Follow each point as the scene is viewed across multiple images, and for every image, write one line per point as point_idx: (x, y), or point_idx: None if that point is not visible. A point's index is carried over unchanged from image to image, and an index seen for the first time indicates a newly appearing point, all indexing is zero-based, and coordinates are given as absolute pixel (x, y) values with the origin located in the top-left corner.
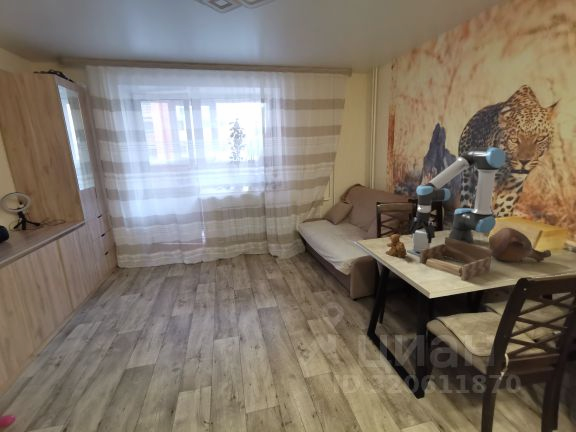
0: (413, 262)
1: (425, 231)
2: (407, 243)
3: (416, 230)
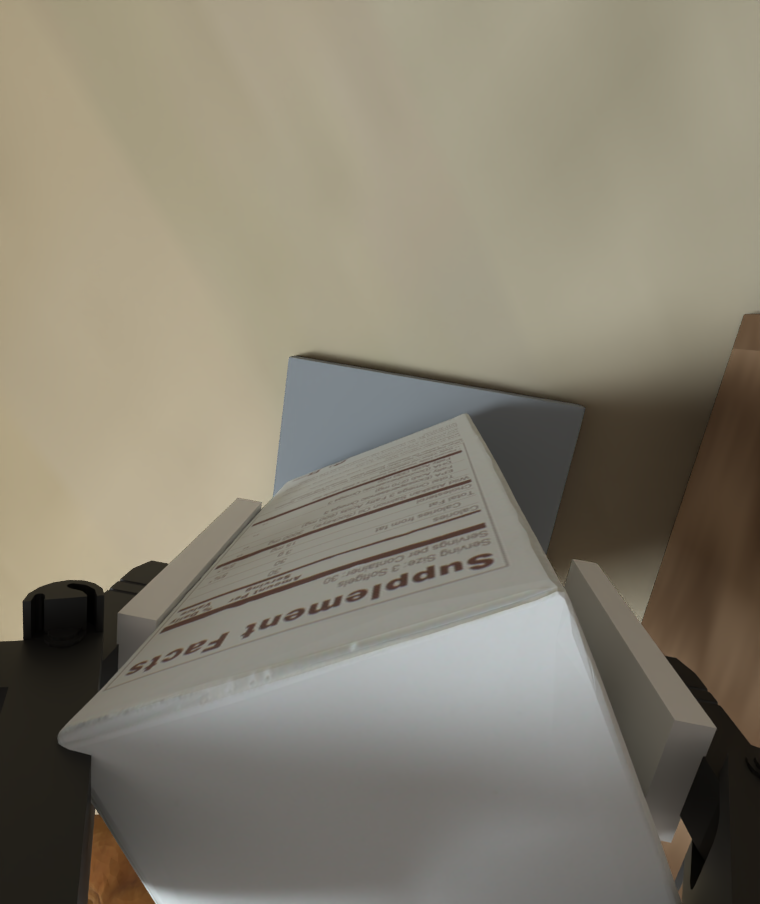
0: None
1: (518, 831)
2: (26, 252)
3: (163, 898)
